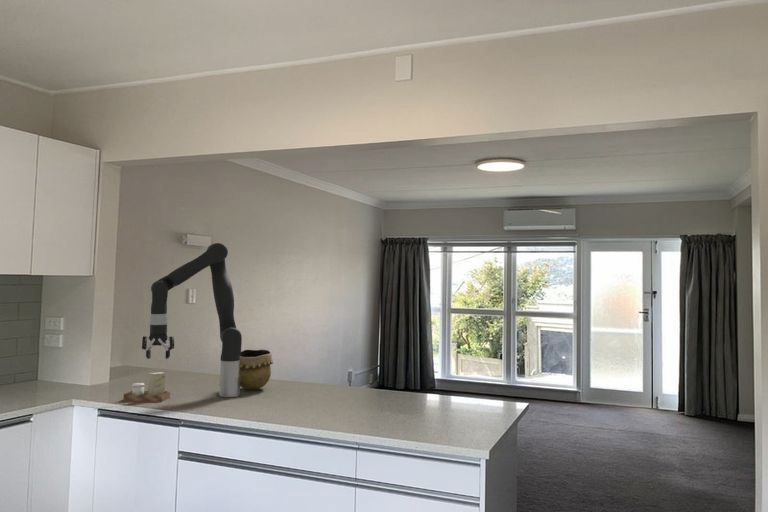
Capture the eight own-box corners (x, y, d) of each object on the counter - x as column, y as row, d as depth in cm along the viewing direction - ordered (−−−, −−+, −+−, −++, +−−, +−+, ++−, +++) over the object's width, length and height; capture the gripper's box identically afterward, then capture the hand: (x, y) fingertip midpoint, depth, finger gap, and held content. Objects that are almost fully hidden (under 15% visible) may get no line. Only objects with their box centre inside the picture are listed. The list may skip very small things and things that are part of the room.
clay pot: (264, 394, 287) (265, 353, 288) (224, 392, 290) (225, 352, 291) (278, 387, 307) (279, 349, 308) (240, 385, 311) (241, 348, 312)
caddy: (169, 399, 271) (170, 391, 271) (162, 403, 261) (162, 395, 262) (132, 398, 271) (132, 390, 271) (123, 402, 262) (123, 394, 262)
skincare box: (152, 401, 262) (153, 374, 263) (147, 399, 265) (148, 373, 266) (164, 399, 268) (165, 372, 268) (159, 397, 270) (160, 371, 271)
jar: (145, 398, 269) (146, 383, 269) (141, 400, 264) (141, 384, 264) (134, 397, 269) (135, 382, 269) (129, 400, 264) (130, 384, 264)
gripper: (176, 323, 272) (176, 357, 271) (146, 322, 272) (146, 357, 271) (170, 324, 264) (170, 359, 263) (139, 324, 264) (139, 359, 263)
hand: (157, 358), depth 267 cm, fingers open, 8 cm apart
